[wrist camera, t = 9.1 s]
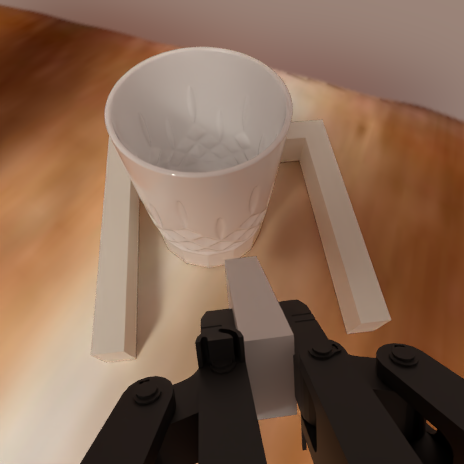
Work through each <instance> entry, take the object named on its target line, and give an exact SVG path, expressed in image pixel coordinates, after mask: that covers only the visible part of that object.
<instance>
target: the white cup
mask: <svg viewBox="0 0 464 464" xmlns="http://www.w3.org/2000/svg"><path fill="white" fill-rule="evenodd" d="M291 119H292V100H291V96H290V93H289V91H288V89H287V87H286V85H285V83H284V82H283V81H282V79H281V78H280V77H279V76H278V75H277V74H276V73H275V72H274V71H273V70H272V69H271V68H270V67H268V66H267V65H266V64H264V63H262V62H261V61H259V60H257V59H255V58H253V57H251V56H249V55H246V54H243V53H240V52H237V51H233V50H229V49H224V48H216V47H188V48H181V49H175V50H171V51H167V52H164V53H160V54H158V55H155V56H153V57H150V58H148V59H146V60H144V61H142V62H140V63H139V64H137V65H136V66H134V67H133V68H131V69H130V70H129V71H127V72H126V73H125V74H124V75H123V76H122V77H121V78H120V79H119V80H118V81H117V83H116V84H115V85H114V87H113V88H112V90H111V92H110V94H109V96H108V99H107V102H106V106H105V124H106V128H107V131H108V134H109V136H110V138H111V140H112V142H113V144H114V146H115V148H116V150H117V152H118V154H119V156H120V158H121V160H122V162H123V164H124V166H125V168H126V170H127V172H128V174H129V176H130V178H131V181H132V183H133V185H134V187H135V189H136V191H137V193H138V195H139V197H140V199H141V201H142V203H143V204H144V206H145V208H146V210H147V212H148V214H149V216H150V217H151V219H152V221H153V223H154V225H155V226H156V227H157V228H158V229H159V231H160V233H161V234H162V236H163V238H164V241H165V243H166V245H167V247H168V249H169V250H170V251H171V252H172V253H174V254H175V255H176V256H178V257H179V258H180V259H182V260H183V261H184V262H186V263H188V264H193V265H198V266H203V267H207V268H211V267H216V266H221V265H225V261H224V260H226V259H235V258H240V257H241V256H243V255H244V254H245V253H247V252H248V251H249V250H251V248H252V246H253V244H254V242H255V240H256V238H257V236H258V234H259V232H260V230H261V225H262V221H263V219H264V217H265V214H266V211H267V208H268V205H269V201H270V198H271V195H272V192H273V188H274V184H275V181H276V177H277V173H278V169H279V165H280V161H281V157H282V153H283V150H284V146H285V142H286V138H287V135H288V131H289V127H290V124H291Z"/></svg>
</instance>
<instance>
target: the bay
mask: <svg viewBox="0 0 464 464" xmlns="http://www.w3.org/2000/svg"><path fill="white" fill-rule="evenodd" d="M289 161H300V165H301V169H302V172H303V176H304V180H305V183H306V187H307V190H308V194H309V198H310V201H311V205H312V209H313V212H314V216H315V220H316V223H317V227H318V230H319V234H320V238H321V241H322V245H323V249H324V252H325V256H326V259H327V263H328V267H329V270H330V274H331V278H332V281H333V285H334V289H335V292H336V296H337V299H338V303H339V307H340V310H341V314H342V318H343V321H344V325H345V329H346V332H347V334H351V333H359V332H368V331H374V330H376V329H378V328H379V327H381V326H382V325H384V324H386V323H387V322H389V321H391V318H390V315H389V312H388V309H387V306H386V303H385V300H384V297H383V294H382V291H381V289H380V286H379V283H378V280H377V277H376V274H375V271H374V268H373V265H372V262H371V260H370V257H369V254H368V251H367V248H366V245H365V242H364V239H363V236H362V233H361V231H360V228H359V225H358V222H357V219H356V216H355V213H354V210H353V207H352V204H351V201H350V199H349V196H348V193H347V190H346V187H345V184H344V181H343V178H342V175H341V172H340V170H339V167H338V164H337V161H336V158H335V155H334V152H333V149H332V146H331V143H330V140H329V138H328V135H327V132H326V129H325V126H324V123H323V120H310V121H298V122H291V124H290V127H289V131H288V135H287V138H286V142H285V146H284V150H283V153H282V157H281V161H280V162H289ZM138 240H139V195H138V193H137V191H136V189H135V187H134V185H133V183H132V181H131V178H130V176H129V174H128V172H127V170H126V168H125V166H124V164H123V162H122V160H121V158H120V156H119V154H118V152H117V150H116V148H115V146H114V144H113V142H112V140H111V138H110V136H109V144H108V156H107V168H106V180H105V192H104V203H103V215H102V227H101V239H100V251H99V263H98V275H97V287H96V299H95V311H94V323H93V335H92V347H91V356H93V357H96V358H98V359H100V360H102V361H104V362H106V363H107V362H115V361H124V360H132V359H136V331H137V285H138Z"/></svg>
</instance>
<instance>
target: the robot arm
mask: <svg viewBox="0 0 464 464" xmlns="http://www.w3.org/2000/svg"><path fill="white" fill-rule="evenodd" d="M224 261H225V272H226V282H227V292H228V302H229V309H223V310H215V311H207V312H206V313H205V314H204V316H203V317H202V318H201V334H200V335H199V336H198V337H197V339H196V342H195V344H196V351H197V359H198V366H199V369H198V370H197V371H196V373H195V374H194V375H192V376H191V377H190V378H188V379H186V380H184V381H182V382H180V383H177V384H174V385H172V383H171V382H170V381H169V380H167V379H166V378H163V377H158V376H154V377H147V378H144V379H141V380H138V381H137V382H135V383H133V384H132V385H130V386H129V387H128V388H127V390H126V391H125V392H124V393H123V395H122V396H121V398H120V399H119V401H118V403H117V404H116V406H115V408H114V409H113V411H112V412H111V414H110V416H109V417H108V419H107V421H106V422H105V424H104V426H103V427H102V429H101V430H100V432H99V434H98V435H97V437H96V439H95V440H94V442H93V444H92V445H91V447H90V448H89V450H88V452H87V453H86V455H85V457H84V458H83V460H82V461H81V463H80V464H196V463H198V464H267V462H266V458H265V453H264V448H263V443H262V438H261V433H260V429H259V424H258V420H261V419H268V418H275V417H282V416H289V415H296V414H297V403H298V406H299V409H300V411H301V430H302V448H303V450H307V449H306V442H307V445H308V448H309V451H310V454H311V457H312V460H313V462H314V464H464V379H463V378H461V377H460V376H458V375H457V374H455V373H454V372H452V371H451V370H449V369H448V368H446V367H445V366H443V365H442V364H440V363H439V362H437V361H436V360H434V359H433V358H431V357H430V356H428V355H427V354H425V353H424V352H422V351H421V350H419V349H417V348H415V347H412V346H408V345H405V344H396V343H392V344H386V345H383V346H382V347H380V348H379V349H378V351H377V353H376V358H369V357H359V356H352V355H349V354H348V353H347V352H346V350H345V349H344V348H343V347H342V346H341V345H340V344H339V343H337V342H334V341H332V340H328V338H327V336H326V335H325V333H324V332H323V330H322V329H321V327H320V325H319V324H318V322H317V321H316V320H315V318H314V316H313V314H311V311H310V310H309V308H308V307H307V305H305V304H304V303H302V302H300V301H299V300H289V301H281V302H278V301H277V299H276V296H275V294H274V292H273V290H272V288H271V286H270V284H269V282H268V280H267V278H266V275H265V273H264V271H263V269H262V267H261V265H260V263H259V261H258V259H257V256H253V257H244V258H235V259H226V260H224ZM296 401H297V402H296ZM426 419H427V420H428V421H429V422H430V423H431V424H432V425H433V426H435V427H436V428H437V431H436V430H434V429H433V428H431V427H430V426H429V425H428V424H427V423H426Z"/></svg>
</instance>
